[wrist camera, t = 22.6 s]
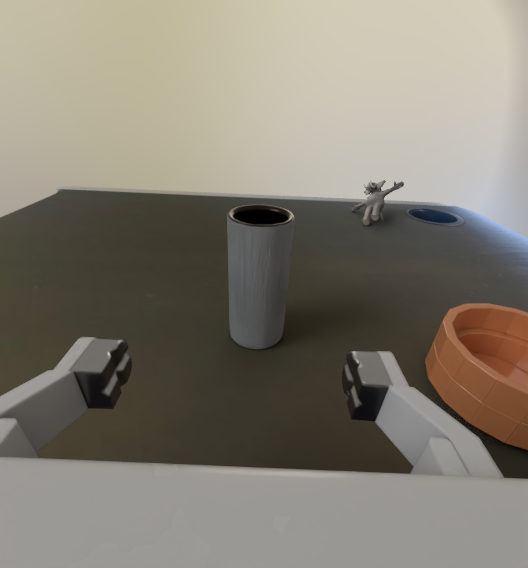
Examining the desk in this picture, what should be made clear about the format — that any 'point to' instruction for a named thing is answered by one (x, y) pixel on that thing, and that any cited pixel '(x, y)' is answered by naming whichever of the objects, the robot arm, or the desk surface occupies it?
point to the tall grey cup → (258, 273)
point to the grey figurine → (375, 201)
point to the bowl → (484, 368)
